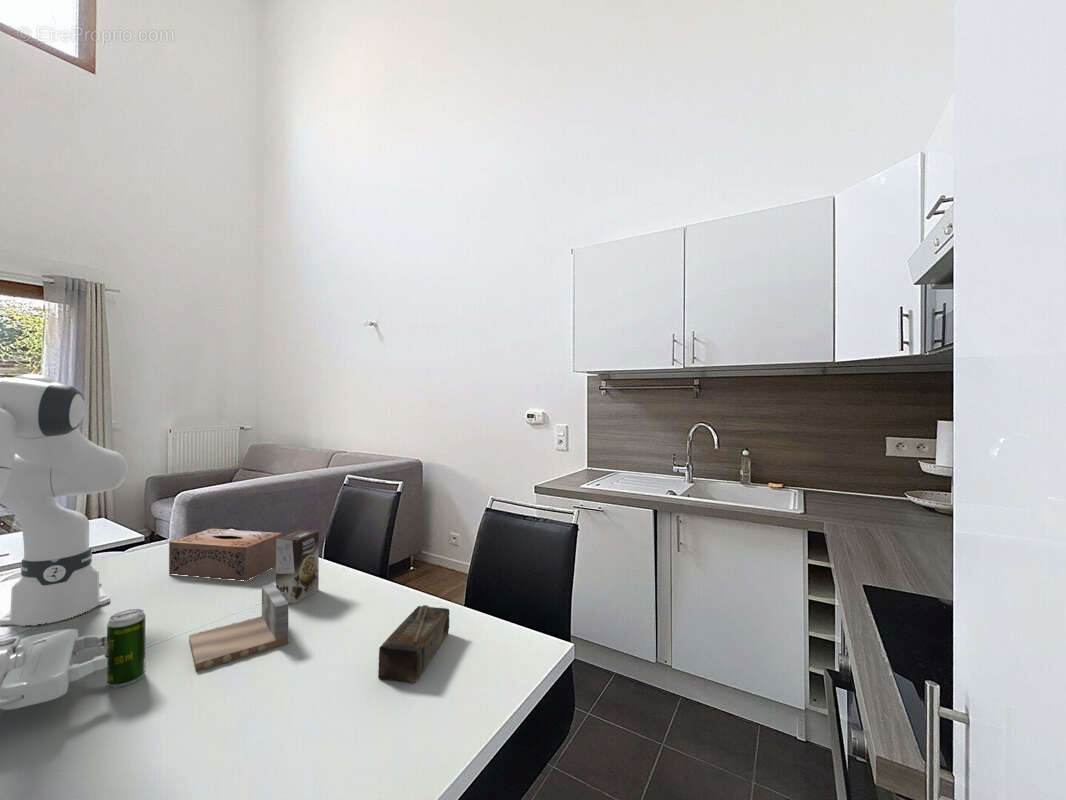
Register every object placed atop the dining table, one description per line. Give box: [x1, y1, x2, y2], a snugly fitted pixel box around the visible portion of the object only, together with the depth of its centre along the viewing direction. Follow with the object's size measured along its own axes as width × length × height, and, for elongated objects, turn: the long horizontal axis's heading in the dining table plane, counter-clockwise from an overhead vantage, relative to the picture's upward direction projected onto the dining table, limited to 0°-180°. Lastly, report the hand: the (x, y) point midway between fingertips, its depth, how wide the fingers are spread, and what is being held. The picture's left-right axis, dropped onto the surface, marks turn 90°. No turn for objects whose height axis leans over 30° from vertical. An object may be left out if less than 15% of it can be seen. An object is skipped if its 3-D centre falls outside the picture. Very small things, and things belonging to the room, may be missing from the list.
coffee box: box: [275, 529, 320, 604], centre depth 124 cm, size 9×6×16 cm
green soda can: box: [106, 608, 146, 688], centre depth 87 cm, size 5×5×12 cm
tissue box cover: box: [168, 528, 283, 582], centre depth 142 cm, size 26×14×10 cm, turn 80°
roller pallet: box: [188, 583, 289, 672], centre depth 100 cm, size 15×16×8 cm
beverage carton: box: [377, 604, 450, 684], centre depth 96 cm, size 8×19×7 cm, turn 171°
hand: (108, 649), depth 85 cm, fingers open, 8 cm apart
